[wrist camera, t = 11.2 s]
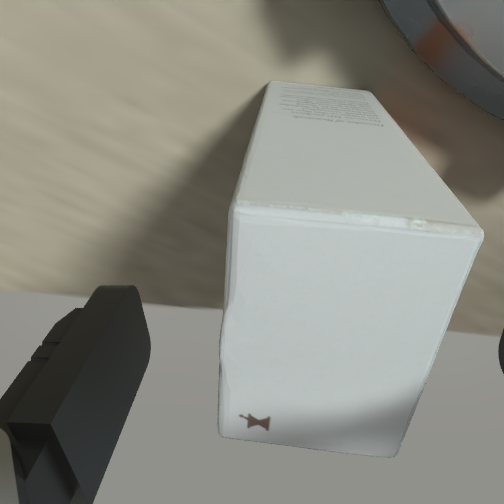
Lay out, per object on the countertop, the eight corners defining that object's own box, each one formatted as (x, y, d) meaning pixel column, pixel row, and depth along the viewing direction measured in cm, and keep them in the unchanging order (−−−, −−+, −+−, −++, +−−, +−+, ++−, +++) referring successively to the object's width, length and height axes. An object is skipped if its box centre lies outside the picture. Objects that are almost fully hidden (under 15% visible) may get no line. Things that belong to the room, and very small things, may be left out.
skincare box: (346, 222, 20) (397, 467, 10) (255, 212, 20) (210, 443, 10) (376, 84, 16) (499, 232, 6) (266, 74, 17) (216, 203, 6)
